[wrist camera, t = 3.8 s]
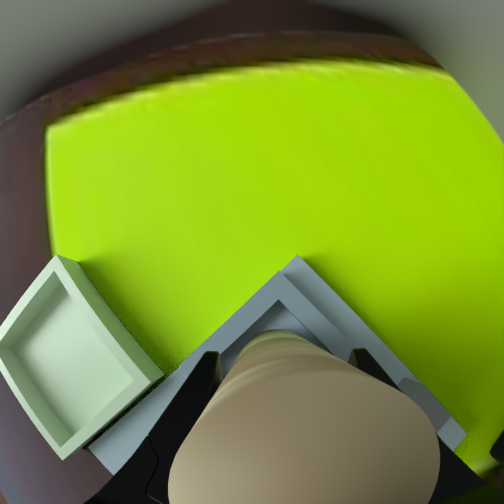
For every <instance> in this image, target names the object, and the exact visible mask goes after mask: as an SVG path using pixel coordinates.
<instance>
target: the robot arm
mask: <svg viewBox="0 0 504 504" xmlns="http://www.w3.org/2000/svg"><path fill="white" fill-rule="evenodd" d="M347 363H348V364H350V365H352V366H354V367H356V368H357V369H359V370H361V371H363V372H365V373H367V374H369V375H370V376H372V377H374V378H376V379H378V380H380V381H382V382H384V383H386V384H387V385H389V386H391V387H393V388H395V389H397V390H398V391H400V392H402V391H401V390H400V388H399V387H398V386H397V385H396V384H395V382H394V381H393V380H392V379H391V378H390V376H389V375H388V374H387V373H386V372H385V370H384V369H383V368H382V367H381V366H380V365H379V363H378V362H377V361H376V360H375V359H374V357H373V356H372V355H371V354H370V353H369V352H368V350H367V349H366V348H353V349H352V351H351V353H350V356H349V359H348V362H347ZM221 383H222V365H221V359H220V353H219V352H218V351H206V352H205V353H204V354H203V355H202V357H201V358H200V360H199V361H198V363H197V364H196V366H195V367H194V368H193V370H192V371H191V373H190V374H189V376H188V377H187V379H186V380H185V381H184V383H183V384H182V386H181V387H180V389H179V390H178V392H177V393H176V394H175V396H174V397H173V399H172V400H171V402H170V403H169V404H168V406H167V407H166V409H165V410H164V412H163V413H162V414H161V416H160V417H159V419H158V420H157V422H156V423H155V424H154V426H153V427H152V429H151V430H150V431H149V433H148V436H146V437H145V438H144V440H143V441H142V443H141V444H140V445H139V447H138V448H137V449H136V451H135V452H134V453H133V455H132V456H131V457H130V458H129V459H128V460H127V462H126V463H125V464H124V465H123V466H122V467H121V468H120V469H119V470H118V471H117V473H116V474H115V475H114V476H113V477H112V478H111V479H110V480H109V481H108V482H107V483H106V484H105V485H104V486H103V487H102V488H101V489H100V490H99V491H98V492H97V493H96V494H95V495H94V496H93V497H91V498H90V499H89V500H87V501H86V502H84V503H82V504H170V502H169V497H168V481H169V475H170V469H171V467H172V464H173V461H174V458H175V456H176V454H177V452H178V450H179V448H180V447H181V445H182V443H183V441H184V440H185V438H186V437H187V435H188V434H189V432H190V431H191V429H192V428H193V426H194V425H195V423H196V422H197V420H198V419H199V417H200V416H201V414H202V413H203V411H204V410H205V408H206V406H207V405H208V403H209V402H210V400H211V399H212V397H213V396H214V394H215V392H216V391H217V389H218V388H219V386H220V385H221ZM402 393H403V392H402ZM403 394H404V393H403ZM435 433H436V432H435ZM436 436H437V439H438V443H439V450H440V468H439V474H438V479H437V483H436V486H435V489H434V492H433V494H432V496H431V498H430V501H429V503H428V504H504V487H502V486H498V485H495V484H492V483H489V482H487V481H485V480H483V479H482V478H480V477H479V476H478V475H477V474H476V473H475V472H474V471H472V470H471V469H470V468H469V467H468V466H467V465H466V464H465V463H464V462H463V461H462V460H461V459H460V458H459V457H458V456H457V455H456V454H455V453H454V452H453V451H452V450H451V449H450V448H449V447H448V446H447V445H446V444H445V443H444V442H443V440H442V439H441V438H440V437H439V436H438V435H437V433H436Z"/></svg>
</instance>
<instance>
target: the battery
mask: <svg viewBox="0 0 504 504" xmlns="http://www.w3.org/2000/svg"><path fill="white" fill-rule="evenodd" d="M490 455H491V456H492V457H493V458H495V459H496V460H497V461H498V462H499V463H501V464H502V465H503V466H504V431H503V432H502V434H501V435H500V437H499V438H498V440H497V441H496V443H495V444H494V446H493V447H492V449H491V450H490Z"/></svg>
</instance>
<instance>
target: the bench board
mask: <svg viewBox="0 0 504 504" xmlns="http://www.w3.org/2000/svg"><path fill="white" fill-rule="evenodd" d="M271 329H283V330H287V331H290V332H293V333H295V334H297V335H298V336H300V337H302V338H304V339H305V340H307V341H309V342H311V343H312V344H314V345H316V346H318V347H320V348H321V349H323V350H325V351H327V352H328V353H330V354H332V355H334V356H336V357H337V358H339V359H341V360H343V361H345V362H346V363H347V362H348V359H349V356H350V353H351V351H352V349H353V348H366V349H367V350H368V352H369V353H370V354H371V355H372V356H373V357H374V359H375V360H376V361H377V362H378V363H379V365H380V366H381V367H382V368H383V369H384V370H385V372H386V373H387V374H388V375H389V376H390V378H391V379H392V380H393V381H394V382H395V384H396V385H397V386H398V387H399V388H400V390H401V391H402V392H403V393H404V394H405V395H406V396H408V397H409V398H410V399H411V400H413V401H414V402H415V403H416V404H417V405H418V406H419V407H420V408H421V409H422V410H423V412H424V413H425V414H426V415H427V417H428V418H429V420H430V422H431V424H432V426H433V427H434V430H435V432H436V433H437V435H438V436H439V437H440V438H441V439H442V440H443V442H444V443H445V444H446V445H447V446H448V447H449V448H450V449H451V450H452V451H454V450H455V448H456V447H457V446H458V445H459V444H460V443H461V441H462V440H463V439H464V438H465V437H466V435H467V433H466V432H465V431H464V430H463V429H462V427H461V426H460V425H459V424H458V423H457V422H456V421H455V420H454V418H453V417H452V415H451V414H450V413H449V412H448V411H447V410H446V409H445V408H444V406H443V405H442V404H441V403H440V402H439V401H438V400H437V399H436V398H435V396H434V395H433V394H432V393H431V392H430V391H429V390H428V389H427V388H426V387H425V385H423V384H422V383H421V382H420V381H419V380H418V379H417V378H416V377H415V376H414V374H413V373H412V372H411V371H410V370H409V369H408V368H407V367H406V366H405V365H404V364H403V363H402V362H401V360H400V359H399V358H398V357H397V356H396V355H395V354H394V353H393V352H392V351H391V350H390V349H389V348H388V347H387V346H386V345H385V343H384V342H383V341H382V340H381V339H380V338H379V337H378V336H377V335H376V334H375V333H374V332H373V331H372V330H371V329H370V328H369V327H368V326H367V325H366V324H365V323H364V322H363V320H362V319H361V318H360V317H359V316H358V315H357V314H356V313H355V312H354V311H353V310H352V309H351V308H350V307H349V306H348V305H347V304H346V303H345V302H344V301H343V300H342V299H341V298H340V297H339V296H338V295H337V294H336V293H335V292H334V291H333V290H332V289H331V288H330V287H329V286H328V285H327V284H326V283H325V282H324V281H323V280H322V279H321V277H320V276H319V275H318V274H317V273H316V272H315V271H314V270H313V269H312V268H311V267H310V266H309V265H308V264H307V263H306V262H305V261H304V260H303V259H302V258H301V257H300V256H299V255H298V254H297V255H296V256H295V257H294V258H293V259H292V260H291V261H290V262H289V263H288V264H287V265H286V266H285V267H284V268H283V269H282V270H281V271H278V272H277V273H276V274H275V275H274V276H273V277H272V278H271V279H270V280H269V281H268V282H267V283H266V284H265V285H264V286H263V287H261V288H260V289H259V290H258V291H257V292H256V293H255V294H254V295H253V296H252V297H251V298H250V299H249V300H248V301H247V302H246V303H245V304H244V305H243V306H242V307H241V308H240V309H239V310H238V311H236V312H235V313H234V314H233V315H232V316H231V317H230V318H229V319H228V320H227V321H226V322H225V323H224V324H223V325H222V326H221V327H220V328H218V329H217V330H216V331H215V332H214V333H213V334H212V335H211V336H210V337H209V338H208V339H207V340H206V341H205V342H203V343H202V344H201V345H200V346H199V347H198V348H197V349H196V350H195V351H194V352H193V353H192V354H191V355H189V356H188V357H187V358H186V359H185V360H184V361H183V362H182V363H181V364H180V365H179V366H180V367H178V368H177V369H176V370H175V371H174V372H173V373H172V374H171V375H170V376H169V377H167V378H166V379H165V380H164V381H163V382H162V383H161V384H160V385H159V386H157V387H156V388H155V389H154V390H153V391H152V392H151V393H150V394H148V395H147V396H146V397H145V398H144V399H143V400H142V401H141V402H139V403H138V404H137V405H136V406H135V407H134V408H133V409H132V410H130V411H129V412H128V413H127V414H126V415H125V416H124V417H122V418H121V419H120V420H119V421H118V422H117V423H115V424H114V425H113V426H112V427H111V428H110V429H109V430H107V431H106V432H105V433H104V434H103V435H102V436H100V437H99V438H98V439H97V440H96V441H94V442H93V443H92V444H91V445H90V446H89V447H88V448H89V449H90V451H91V452H92V453H93V454H94V455H95V456H96V457H97V458H98V459H99V460H100V462H101V463H102V464H103V465H104V466H105V467H106V468H107V469H108V470H109V471H110V472H111V473H112V474H113V475H115V474H116V473H117V471H118V470H119V469H120V468H121V467H122V466H123V465H124V464H125V463H126V462H127V460H128V459H129V458H130V457H131V456H132V455H133V453H134V452H135V451H136V449H137V448H138V447H139V445H140V444H141V443H142V441H143V440H144V438H145V437H146V436H148V433H149V431H150V430H151V429H152V427H153V426H154V424H155V423H156V422H157V420H158V419H159V417H160V416H161V414H162V413H163V412H164V410H165V409H166V407H167V406H168V404H169V403H170V402H171V400H172V399H173V397H174V396H175V394H176V393H177V392H178V390H179V389H180V387H181V386H182V384H183V383H184V381H185V380H186V379H187V377H188V376H189V374H190V373H191V371H192V370H193V368H194V367H195V366H196V364H197V363H198V361H199V360H200V358H201V357H202V355H203V354H204V353H205V352H206V351H218V352H219V353H220V359H221V365H222V381H223V380H224V378H225V377H226V375H227V374H228V372H229V370H230V369H231V367H232V366H233V364H234V362H235V361H236V359H237V358H238V356H239V354H240V353H241V351H242V349H243V348H244V346H245V345H246V343H247V342H248V341H249V340H250V339H251V338H253V337H254V336H255V335H257V334H259V333H261V332H263V331H266V330H271Z"/></svg>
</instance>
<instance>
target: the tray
mask: <svg viewBox="0 0 504 504" xmlns="http://www.w3.org/2000/svg"><path fill="white" fill-rule="evenodd" d="M0 370H1V372H2V374H3V376H4V377H5V379H6V381H7V383H8V384H9V386H10V388H11V389H12V391H13V393H14V394H15V396H16V397H17V399H18V401H19V402H20V404H21V405H22V407H23V408H24V410H25V411H26V413H27V414H28V416H29V417H30V419H31V420H32V422H33V423H34V424H35V426H36V427H37V429H38V430H39V431H40V433H41V434H42V435H43V437H44V438H45V439H46V441H47V442H48V443H49V444H50V446H51V447H52V448H53V450H54V451H55V452H56V453H57V454H58V456H59V457H60V458H61V459H62V460H64V459H66V458H67V457H69V456H70V455H72V454H73V453H75V452H77V451H78V450H80V449H81V448H82V447H83V446H85V445H86V444H87V443H88V442H89V441H90V440H92V439H93V438H94V437H95V436H96V435H97V434H99V433H100V432H101V431H102V430H103V429H104V428H106V427H107V426H108V425H109V424H110V423H111V422H112V421H114V420H115V419H116V418H117V417H118V416H119V415H120V414H121V413H123V412H124V411H125V410H126V409H127V408H128V407H129V406H131V405H132V404H133V403H134V402H135V401H136V400H137V399H138V398H140V397H141V396H142V395H143V394H144V393H145V392H146V391H147V390H148V389H150V388H151V387H152V386H153V385H154V384H155V383H156V382H157V381H158V380H160V379H161V378H162V377H163V376H164V375H165V374H164V373H163V372H162V371H161V369H160V368H159V367H158V366H157V365H156V364H155V363H154V362H153V360H152V359H151V358H150V357H149V356H148V355H147V353H146V352H145V351H144V350H143V349H142V348H141V346H140V345H139V344H138V343H137V342H136V340H135V339H134V338H133V337H132V335H131V334H130V333H129V332H128V330H127V329H126V328H125V327H124V325H123V324H122V323H121V322H120V320H119V319H118V318H117V316H116V315H115V314H114V313H113V311H112V310H111V309H110V307H109V306H108V305H107V303H106V302H105V301H104V299H103V298H102V297H101V295H100V294H99V292H98V291H97V290H96V288H95V287H94V285H93V284H92V283H91V281H90V280H89V278H88V277H87V275H86V274H85V272H84V271H83V270H82V268H81V267H80V265H79V264H78V262H77V261H74V260H71V259H68V258H66V257H63V256H60V255H57V254H56V255H55V256H54V257H53V259H52V260H51V261H50V262H49V263H48V265H47V266H46V267H45V268H44V269H43V271H42V272H41V273H40V274H39V276H38V277H37V278H36V279H35V281H34V282H33V283H32V284H31V286H30V287H29V288H28V290H27V291H26V292H25V293H24V295H23V296H22V297H21V299H20V300H19V301H18V303H17V304H16V306H15V307H14V308H13V310H12V311H11V312H10V314H9V315H8V317H7V318H6V320H5V321H4V322H3V324H2V325H1V327H0Z"/></svg>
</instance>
